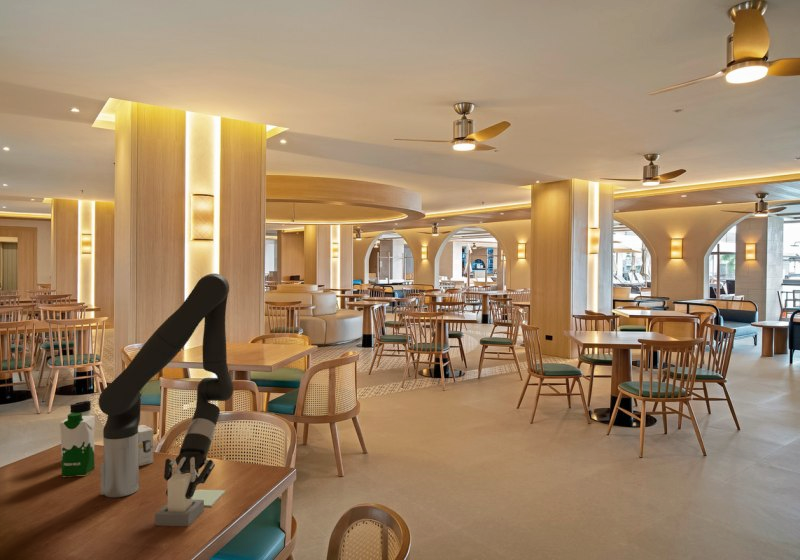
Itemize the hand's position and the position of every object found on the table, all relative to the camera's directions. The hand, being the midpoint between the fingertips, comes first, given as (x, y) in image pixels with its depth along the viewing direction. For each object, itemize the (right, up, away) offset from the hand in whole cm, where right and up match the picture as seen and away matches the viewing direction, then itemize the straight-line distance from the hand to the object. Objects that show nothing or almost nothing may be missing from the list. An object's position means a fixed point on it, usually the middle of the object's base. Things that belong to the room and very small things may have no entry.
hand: (178, 497), depth 140 cm
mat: (+2, -6, +13) cm, 14 cm away
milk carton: (-47, -6, +33) cm, 57 cm away
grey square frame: (0, -6, +1) cm, 6 cm away
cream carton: (0, -6, +1) cm, 6 cm away
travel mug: (-55, -5, +47) cm, 72 cm away
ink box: (-31, -5, +42) cm, 53 cm away
